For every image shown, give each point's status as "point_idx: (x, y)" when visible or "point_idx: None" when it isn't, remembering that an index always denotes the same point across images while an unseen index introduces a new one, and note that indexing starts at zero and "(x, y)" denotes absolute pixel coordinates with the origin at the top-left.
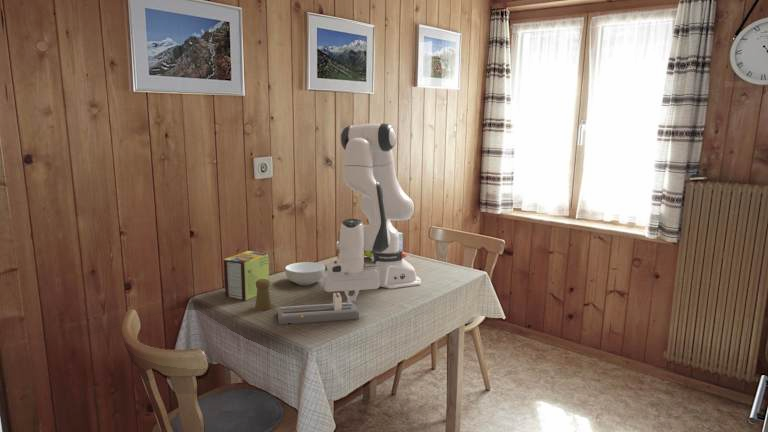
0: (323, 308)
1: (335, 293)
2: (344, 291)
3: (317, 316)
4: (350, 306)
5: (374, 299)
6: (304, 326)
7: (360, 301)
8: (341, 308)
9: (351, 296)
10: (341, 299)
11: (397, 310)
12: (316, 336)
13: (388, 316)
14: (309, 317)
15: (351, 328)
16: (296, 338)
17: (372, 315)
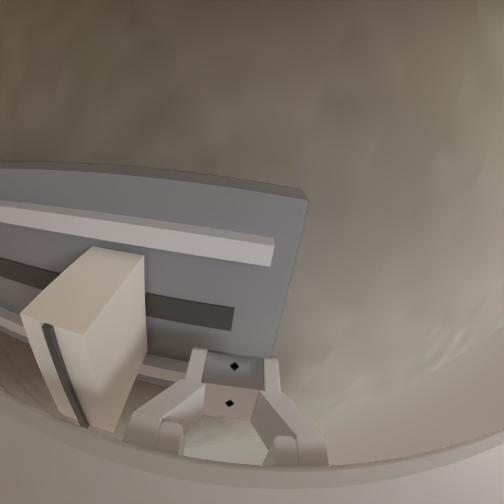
0: (37, 247)
1: (44, 333)
2: (133, 431)
3: (29, 343)
4: (243, 281)
5: (497, 95)
6: (12, 342)
7: (408, 70)
8: (142, 360)
9: (231, 398)
10: (119, 417)
11: (489, 321)
12: (67, 418)
13: (411, 379)
14: (3, 330)
15: (188, 432)
16: (21, 398)
17: (354, 356)
